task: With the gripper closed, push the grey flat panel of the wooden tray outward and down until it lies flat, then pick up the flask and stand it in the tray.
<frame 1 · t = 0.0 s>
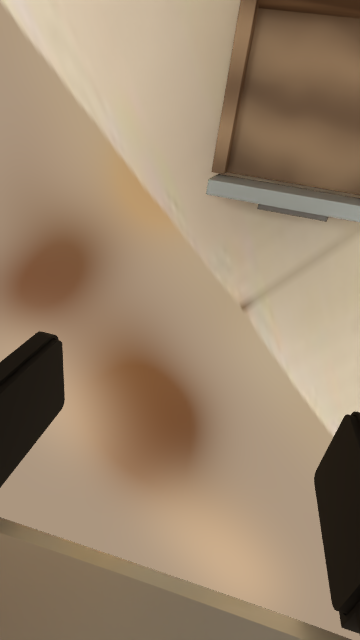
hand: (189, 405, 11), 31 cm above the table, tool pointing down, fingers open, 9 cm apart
grey flat panel: (292, 200, 31), point 6 cm above the table, hinge at 0.0°
wooden tray: (314, 103, 31), on the table
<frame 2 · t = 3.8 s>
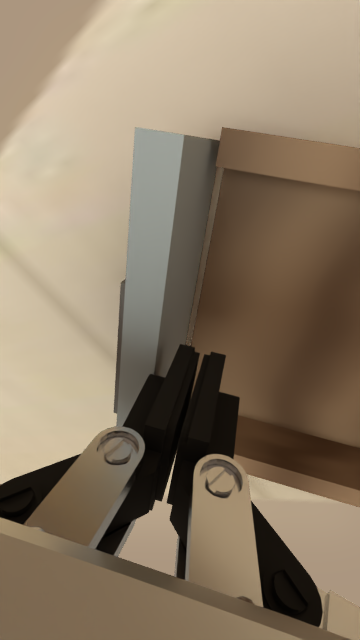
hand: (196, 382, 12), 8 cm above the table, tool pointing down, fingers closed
grey flat panel: (156, 331, 14), point 6 cm above the table, hinge at 0.1°, touching gripper
wooden tray: (328, 317, 18), on the table
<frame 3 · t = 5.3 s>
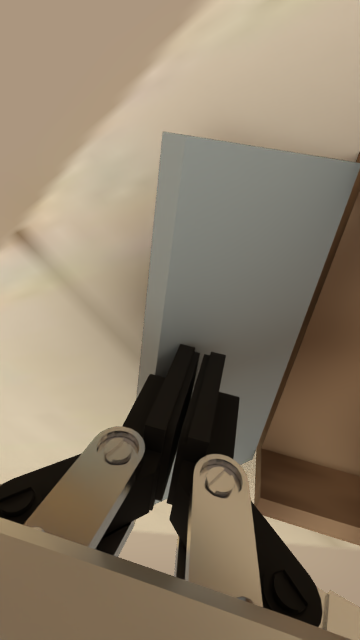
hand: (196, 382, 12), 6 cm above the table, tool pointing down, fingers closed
grey flat panel: (219, 351, 14), point 4 cm above the table, hinge at 46.8°, touching gripper
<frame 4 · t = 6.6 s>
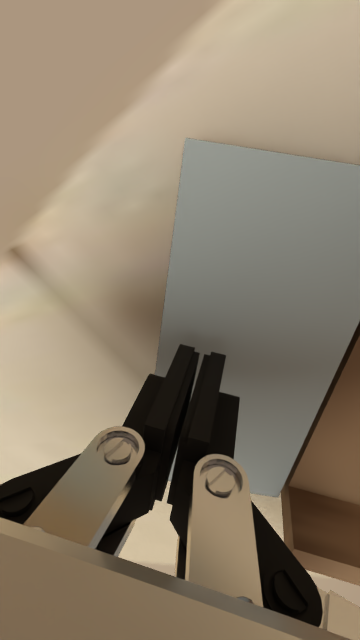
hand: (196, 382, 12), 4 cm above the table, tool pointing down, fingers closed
grey flat panel: (242, 355, 14), point 2 cm above the table, hinge at 82.1°
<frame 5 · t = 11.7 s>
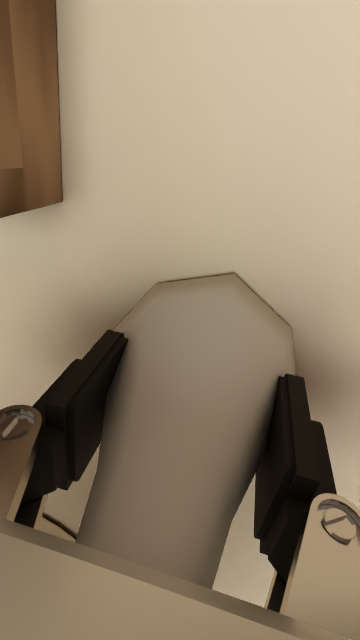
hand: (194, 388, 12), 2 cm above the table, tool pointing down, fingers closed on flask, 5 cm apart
flask: (204, 354, 13), on the table, touching gripper
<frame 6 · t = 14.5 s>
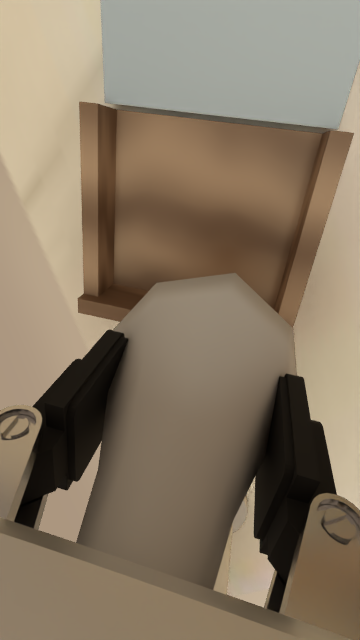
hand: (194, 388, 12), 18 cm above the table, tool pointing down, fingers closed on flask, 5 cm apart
grey flat panel: (225, 46, 20), point 2 cm above the table, hinge at 82.2°
flask: (205, 354, 13), point 16 cm above the table, touching gripper
wooden tray: (204, 224, 27), on the table
when the fingers open (5 cm above the table, at t = 17.5 s): flask drops 1 cm, resting on wooden tray.
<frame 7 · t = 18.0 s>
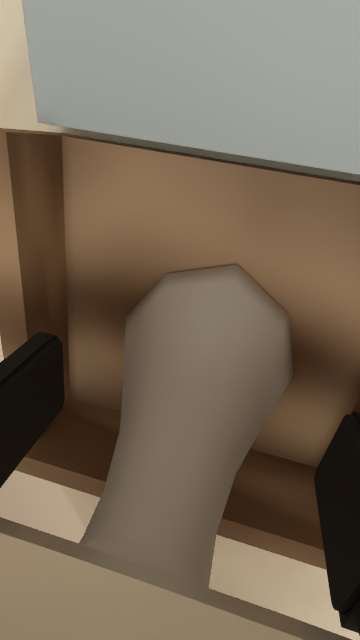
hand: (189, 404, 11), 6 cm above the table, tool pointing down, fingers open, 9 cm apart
grey flat panel: (278, 18, 9), point 2 cm above the table, hinge at 82.2°
flask: (209, 339, 15), point 2 cm above the table, touching wooden tray
wooden tray: (215, 319, 16), on the table
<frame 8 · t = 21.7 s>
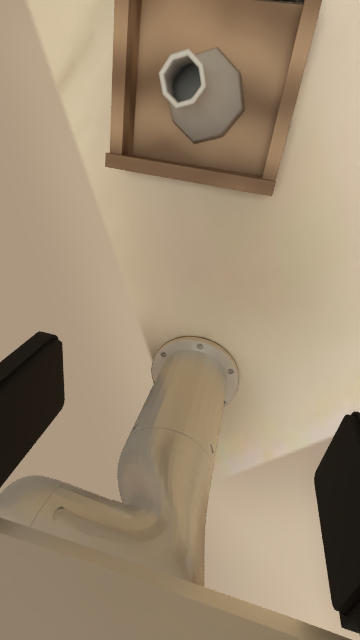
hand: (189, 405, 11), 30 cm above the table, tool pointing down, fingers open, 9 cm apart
flask: (205, 99, 31), point 2 cm above the table, touching wooden tray
wooden tray: (208, 99, 33), on the table
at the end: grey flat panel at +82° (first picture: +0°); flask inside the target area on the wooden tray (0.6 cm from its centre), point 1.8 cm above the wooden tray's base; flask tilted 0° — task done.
